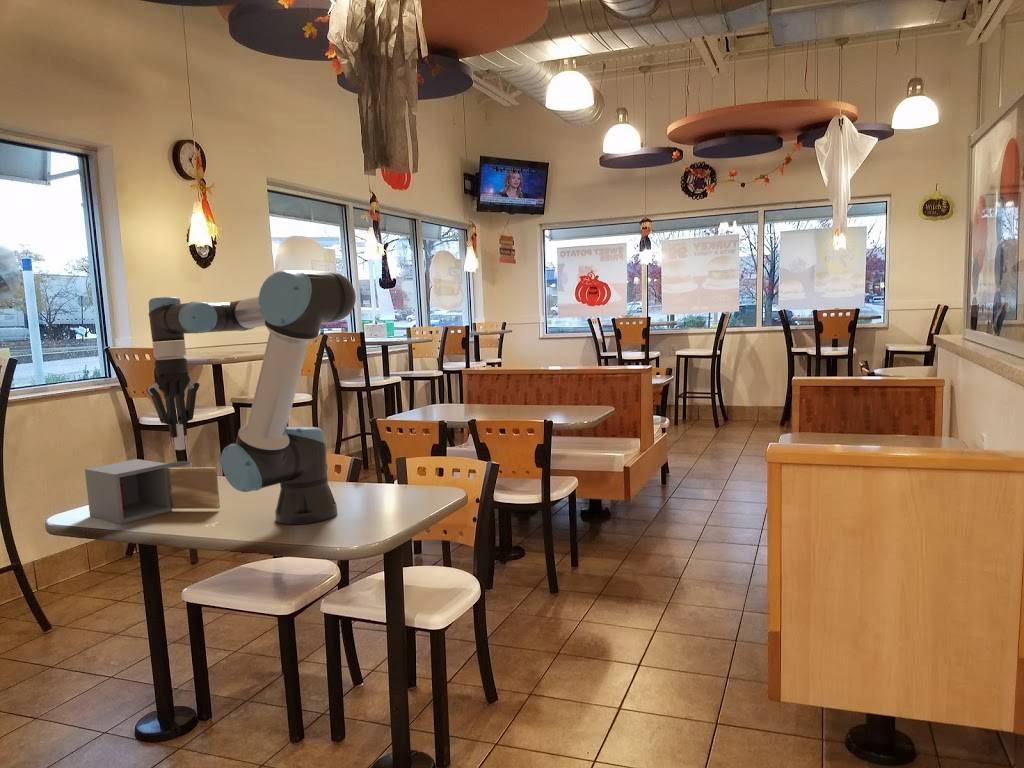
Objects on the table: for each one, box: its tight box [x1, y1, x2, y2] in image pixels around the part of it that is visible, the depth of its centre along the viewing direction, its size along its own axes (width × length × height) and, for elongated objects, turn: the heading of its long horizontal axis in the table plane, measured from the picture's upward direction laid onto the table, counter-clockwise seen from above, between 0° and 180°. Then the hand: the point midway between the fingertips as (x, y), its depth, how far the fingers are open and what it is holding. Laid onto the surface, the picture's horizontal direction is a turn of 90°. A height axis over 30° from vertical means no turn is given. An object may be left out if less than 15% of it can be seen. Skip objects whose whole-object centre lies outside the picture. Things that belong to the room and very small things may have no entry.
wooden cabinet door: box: [167, 466, 221, 510], centre depth 197 cm, size 2×14×11 cm, turn 80°
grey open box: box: [84, 458, 173, 525], centre depth 197 cm, size 16×14×13 cm
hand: (180, 449), depth 188 cm, fingers closed
